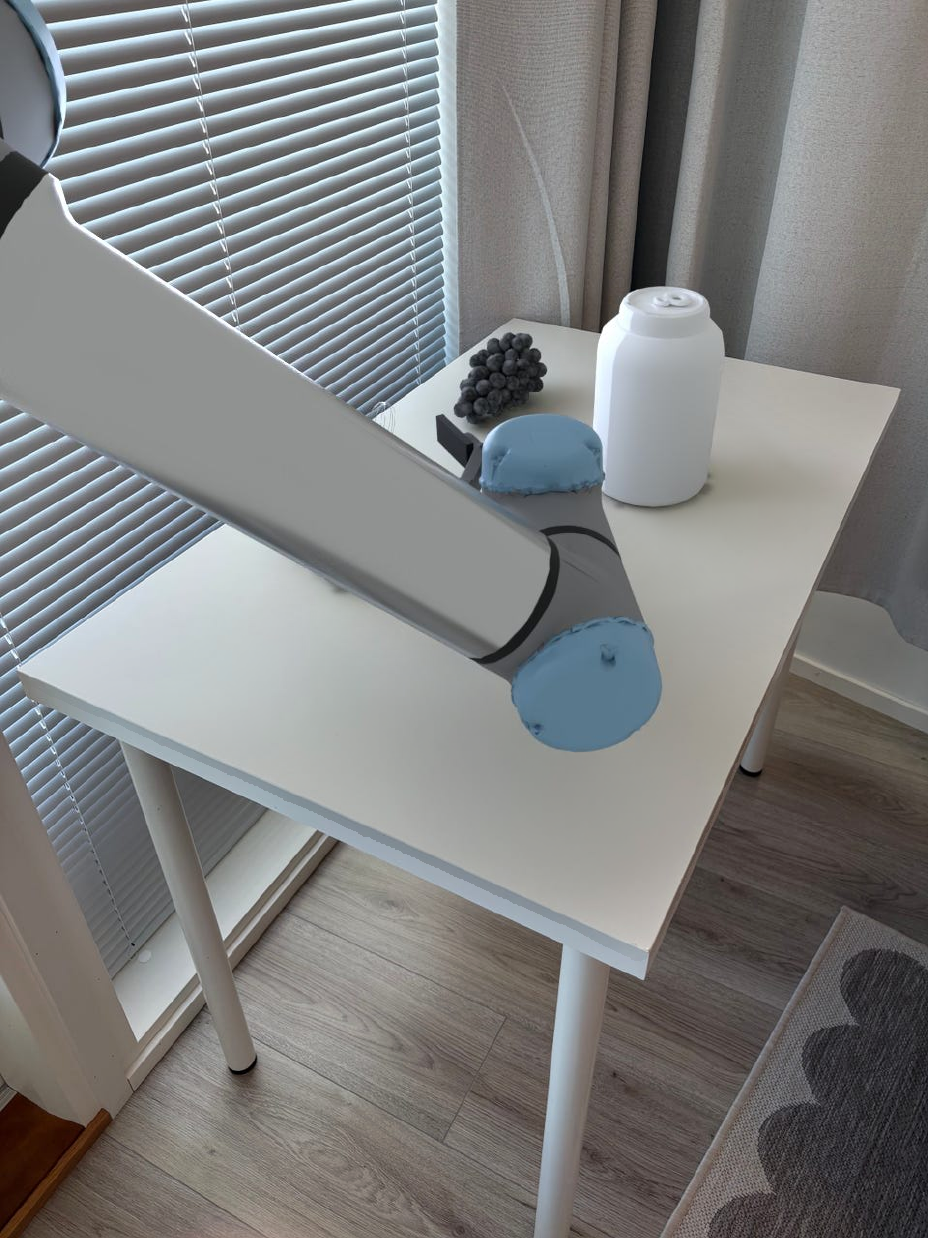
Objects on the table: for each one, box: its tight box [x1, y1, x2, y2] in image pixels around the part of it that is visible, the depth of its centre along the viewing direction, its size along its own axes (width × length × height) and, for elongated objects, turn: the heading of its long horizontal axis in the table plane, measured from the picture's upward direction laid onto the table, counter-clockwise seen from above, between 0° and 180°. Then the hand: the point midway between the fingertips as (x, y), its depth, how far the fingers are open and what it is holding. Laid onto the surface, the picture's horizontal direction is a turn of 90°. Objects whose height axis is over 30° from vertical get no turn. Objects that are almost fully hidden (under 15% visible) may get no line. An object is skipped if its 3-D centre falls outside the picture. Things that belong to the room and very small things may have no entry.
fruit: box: [453, 331, 548, 425], centre depth 116 cm, size 9×8×15 cm
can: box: [592, 285, 726, 508], centre depth 97 cm, size 12×12×20 cm
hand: (374, 444), depth 89 cm, fingers open, 13 cm apart
